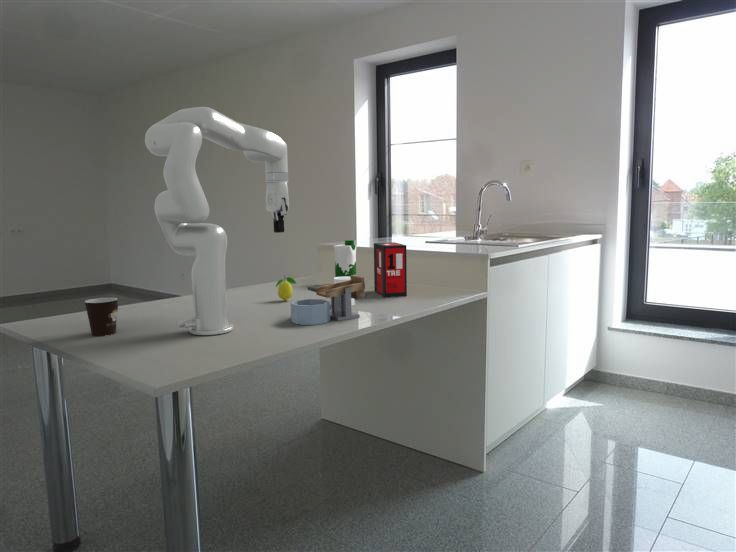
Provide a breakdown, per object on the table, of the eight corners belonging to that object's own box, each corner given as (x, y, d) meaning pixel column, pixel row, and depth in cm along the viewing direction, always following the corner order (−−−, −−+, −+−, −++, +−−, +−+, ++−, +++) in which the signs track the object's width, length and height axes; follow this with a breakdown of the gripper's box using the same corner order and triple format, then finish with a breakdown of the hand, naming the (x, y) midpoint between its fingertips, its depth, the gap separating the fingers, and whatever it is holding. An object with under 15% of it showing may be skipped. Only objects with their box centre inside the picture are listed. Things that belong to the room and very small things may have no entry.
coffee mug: (99, 338, 158) (96, 303, 157) (81, 335, 163) (78, 301, 162) (135, 330, 168) (132, 297, 167) (117, 327, 173) (115, 295, 171)
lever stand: (337, 320, 176) (337, 289, 175) (323, 315, 185) (322, 285, 183) (359, 317, 180) (359, 287, 179) (344, 312, 189) (343, 283, 187)
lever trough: (328, 307, 175) (325, 286, 174) (309, 300, 187) (306, 281, 186) (366, 297, 182) (364, 277, 181) (345, 292, 194) (343, 273, 193)
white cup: (353, 307, 198) (352, 279, 197) (331, 307, 200) (331, 279, 198) (358, 303, 206) (357, 276, 204) (337, 302, 207) (336, 276, 206)
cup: (302, 326, 169) (301, 307, 168) (287, 320, 179) (286, 301, 178) (335, 321, 175) (334, 302, 174) (318, 315, 185) (318, 297, 184)
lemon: (297, 301, 212) (296, 275, 211) (282, 303, 209) (281, 276, 207) (289, 298, 217) (288, 273, 216) (275, 300, 214) (274, 274, 213)
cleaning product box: (374, 291, 233) (373, 243, 230) (395, 289, 235) (394, 242, 232) (384, 297, 217) (384, 246, 214) (406, 296, 219) (406, 245, 216)
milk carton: (350, 287, 245) (350, 241, 242) (332, 286, 248) (331, 241, 246) (359, 284, 253) (358, 239, 250) (341, 283, 256) (340, 239, 254)
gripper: (258, 179, 194) (260, 232, 197) (275, 177, 182) (277, 233, 184) (278, 179, 198) (280, 231, 201) (296, 177, 186) (298, 232, 188)
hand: (279, 232), depth 193 cm, fingers closed
